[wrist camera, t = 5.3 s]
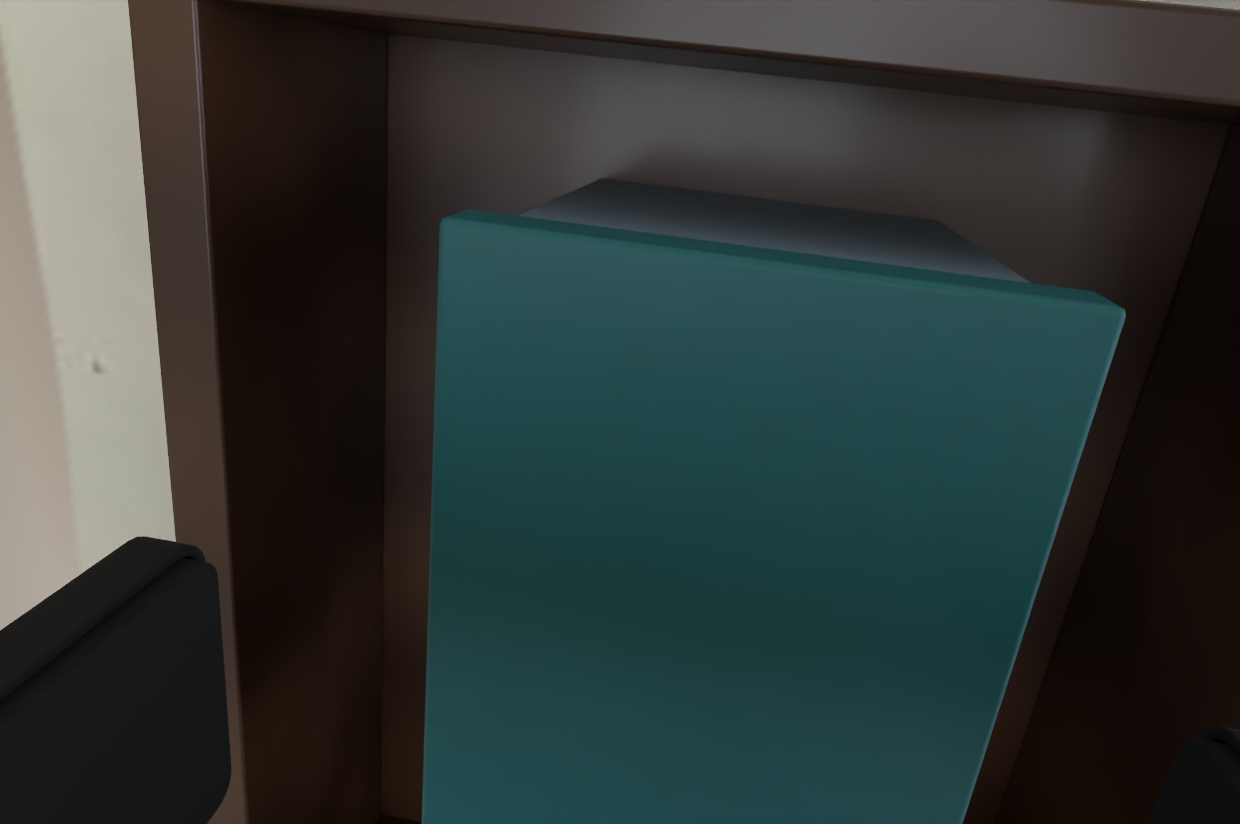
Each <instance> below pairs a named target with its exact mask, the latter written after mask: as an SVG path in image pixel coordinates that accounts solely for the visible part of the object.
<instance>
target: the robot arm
mask: <svg viewBox="0 0 1240 824" xmlns="http://www.w3.org/2000/svg"><path fill="white" fill-rule="evenodd" d="M231 768H232V767H231V753H230V739H229V725H228V711H227V697H226V682H225V668H224V654H223V640H222V626H221V612H220V598H219V584H218V575H217V570H216V569H215V567H214V565H212V564H210V563H208V562H205V557H204V555H203V553H202V551H201V550H200V548H198V547H196V546H194V545H190V544H184V543H178V542H173V541H167V540H161V539H156V538H150V537H136V538H134V539H132V540H130V541H128V542H126V543H125V544H123V545H122V546H121V547H119V548H118V549H116V550H115V551H113V552H112V553H111V554H109V555H108V556H106V557H105V558H103V559H102V560H101V561H99V562H98V563H96V564H95V565H93V566H92V567H91V568H89V569H88V570H86V571H85V572H83V573H82V574H81V575H79V576H78V577H76V578H75V579H73V580H72V581H71V582H69V583H68V584H66V585H65V586H63V587H62V588H61V589H59V590H58V591H56V592H55V593H53V594H52V595H51V596H49V597H48V598H46V599H45V600H43V601H42V602H41V603H39V604H38V605H36V606H35V607H33V608H32V609H31V610H29V611H28V612H26V613H25V614H23V615H22V616H21V617H19V618H18V619H17V620H15V621H14V622H12V623H11V624H9V625H8V626H6V627H5V628H3V629H2V630H1V631H0V824H207V823H208V822H209V820H210V819H211V818H212V816H213V815H214V814H215V812H216V811H217V810H218V808H219V806H220V805H221V803H222V801H223V799H224V797H225V795H226V793H227V790H228V787H229V784H230V779H231ZM1148 824H1240V730H1238V729H1232V728H1227V727H1221V726H1217V727H1210V728H1209V729H1208V730H1206V731H1205V732H1204V733H1202V735H1201V737H1200V738H1199V739H1188V740H1187V741H1186V742H1184V743H1183V744H1182V746H1181V747H1180V749H1179V751H1178V753H1177V755H1176V758H1175V760H1174V762H1173V765H1172V767H1171V770H1170V772H1169V774H1168V777H1167V779H1166V781H1165V784H1164V786H1163V788H1162V791H1161V793H1160V796H1159V798H1158V800H1157V803H1156V805H1155V807H1154V810H1153V812H1152V814H1151V817H1150V819H1149V822H1148Z"/></svg>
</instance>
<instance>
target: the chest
mask: <svg viewBox="0 0 1240 824" xmlns="http://www.w3.org/2000/svg"><path fill="white" fill-rule="evenodd" d="M128 4H129V16H130V27H131V38H132V50H133V61H134V72H135V83H136V95H137V106H138V117H139V129H140V140H141V151H142V162H143V174H144V185H145V196H146V208H147V219H148V230H149V242H150V253H151V264H152V275H153V287H154V298H155V309H156V321H157V332H158V343H159V354H160V366H161V377H162V388H163V400H164V411H165V422H166V434H167V445H168V456H169V467H170V479H171V490H172V501H173V513H174V524H175V535H176V542H178V543H184V544H190V545H194V546H196V547H198V548H200V550H201V551H202V553H203V555H204V557H205V562H208V563H210V564H212V565H214V567H215V569H216V570H217V575H218V584H219V598H220V612H221V626H222V640H223V654H224V668H225V682H226V697H227V711H228V725H229V739H230V753H231V767H232V768H231V779H230V784H229V787H228V790H227V793H226V795H225V797H224V799H223V801H222V803H221V805H220V806H219V808H218V810H217V811H216V812H215V814H214V815H213V816H212V818H211V819H210V820H209V822H208V823H207V824H422V794H423V761H424V728H425V695H426V662H427V629H428V596H429V564H430V531H431V498H432V465H433V432H434V399H435V366H436V333H437V301H438V268H439V235H440V223H441V221H442V219H443V218H445V217H448V216H451V215H454V214H457V213H460V212H462V211H465V210H469V209H471V210H479V211H486V212H494V213H501V214H509V215H520V214H522V213H524V212H526V211H529V210H531V209H533V208H535V207H538V206H540V205H542V204H544V203H547V202H549V201H551V200H553V199H556V198H558V197H560V196H563V195H565V194H567V193H569V192H572V191H574V190H576V189H578V188H581V187H583V186H585V185H587V184H590V183H592V182H594V181H596V180H599V179H610V180H618V181H626V182H634V183H642V184H650V185H658V186H666V187H673V188H681V189H689V190H697V191H705V192H713V193H721V194H729V195H737V196H745V197H753V198H761V199H769V200H777V201H785V202H793V203H801V204H809V205H817V206H825V207H833V208H841V209H849V210H857V211H865V212H873V213H881V214H889V215H897V216H905V217H913V218H921V219H929V220H937V221H940V222H942V223H943V224H944V225H946V226H947V227H949V228H950V229H952V230H953V231H955V232H956V233H958V234H959V235H961V236H962V237H964V238H965V239H967V240H968V241H970V242H971V243H973V244H974V245H976V246H977V247H978V248H980V249H981V250H983V251H984V252H986V253H987V254H989V255H990V256H992V257H993V258H995V259H996V260H998V261H999V262H1001V263H1002V264H1004V265H1005V266H1007V267H1008V268H1010V269H1011V270H1012V271H1014V272H1015V273H1017V274H1018V275H1020V276H1021V277H1023V278H1024V279H1026V280H1027V281H1029V282H1030V283H1033V284H1041V285H1049V286H1056V287H1064V288H1071V289H1079V290H1087V291H1094V292H1096V293H1097V294H1099V295H1101V296H1103V297H1104V298H1106V299H1108V300H1110V301H1111V302H1113V303H1115V304H1117V305H1118V306H1120V307H1122V308H1123V309H1125V314H1126V318H1125V321H1124V324H1123V327H1122V330H1121V333H1120V336H1119V339H1118V342H1117V346H1116V349H1115V352H1114V355H1113V358H1112V361H1111V364H1110V367H1109V370H1108V374H1107V377H1106V380H1105V383H1104V386H1103V389H1102V392H1101V395H1100V398H1099V401H1098V405H1097V408H1096V411H1095V414H1094V417H1093V420H1092V423H1091V426H1090V429H1089V432H1088V436H1087V439H1086V442H1085V445H1084V448H1083V451H1082V454H1081V457H1080V460H1079V464H1078V467H1077V470H1076V473H1075V476H1074V479H1073V482H1072V485H1071V488H1070V491H1069V495H1068V498H1067V501H1066V504H1065V507H1064V510H1063V513H1062V516H1061V519H1060V523H1059V526H1058V529H1057V532H1056V535H1055V538H1054V541H1053V544H1052V547H1051V550H1050V554H1049V557H1048V560H1047V563H1046V566H1045V569H1044V572H1043V575H1042V578H1041V581H1040V585H1039V588H1038V591H1037V594H1036V597H1035V600H1034V603H1033V606H1032V609H1031V613H1030V616H1029V619H1028V622H1027V625H1026V628H1025V631H1024V634H1023V637H1022V640H1021V644H1020V647H1019V650H1018V653H1017V656H1016V659H1015V662H1014V665H1013V668H1012V671H1011V675H1010V678H1009V681H1008V684H1007V687H1006V690H1005V693H1004V696H1003V699H1002V703H1001V706H1000V709H999V712H998V715H997V718H996V721H995V724H994V727H993V730H992V734H991V737H990V740H989V743H988V746H987V749H986V752H985V755H984V758H983V761H982V765H981V768H980V771H979V774H978V777H977V780H976V783H975V786H974V789H973V793H972V796H971V799H970V802H969V805H968V808H967V811H966V814H965V817H964V820H963V824H1148V822H1149V819H1150V817H1151V814H1152V812H1153V810H1154V807H1155V805H1156V803H1157V800H1158V798H1159V796H1160V793H1161V791H1162V788H1163V786H1164V784H1165V781H1166V779H1167V777H1168V774H1169V772H1170V770H1171V767H1172V765H1173V762H1174V760H1175V758H1176V755H1177V753H1178V751H1179V749H1180V747H1181V746H1182V744H1183V743H1184V742H1186V741H1187V740H1188V739H1199V738H1200V737H1201V735H1202V733H1204V732H1205V731H1206V730H1208V729H1209V728H1210V727H1217V726H1221V727H1227V728H1232V729H1238V730H1240V10H1234V9H1223V8H1212V7H1202V6H1191V5H1180V4H1170V3H1159V2H1148V1H1138V0H128Z"/></svg>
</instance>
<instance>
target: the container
mask: <svg viewBox="0 0 1240 824" xmlns="http://www.w3.org/2000/svg"><path fill="white" fill-rule="evenodd" d="M1125 318H1126V314H1125V309H1123V308H1122V307H1120V306H1118V305H1117V304H1115V303H1113V302H1111V301H1110V300H1108V299H1106V298H1104V297H1103V296H1101V295H1099V294H1097V293H1096V292H1094V291H1087V290H1079V289H1071V288H1064V287H1056V286H1049V285H1041V284H1033V283H1030V282H1029V281H1027V280H1026V279H1024V278H1023V277H1021V276H1020V275H1018V274H1017V273H1015V272H1014V271H1012V270H1011V269H1010V268H1008V267H1007V266H1005V265H1004V264H1002V263H1001V262H999V261H998V260H996V259H995V258H993V257H992V256H990V255H989V254H987V253H986V252H984V251H983V250H981V249H980V248H978V247H977V246H976V245H974V244H973V243H971V242H970V241H968V240H967V239H965V238H964V237H962V236H961V235H959V234H958V233H956V232H955V231H953V230H952V229H950V228H949V227H947V226H946V225H944V224H943V223H942V222H940V221H937V220H929V219H921V218H913V217H905V216H897V215H889V214H881V213H873V212H865V211H857V210H849V209H841V208H833V207H825V206H817V205H809V204H801V203H793V202H785V201H777V200H769V199H761V198H753V197H745V196H737V195H729V194H721V193H713V192H705V191H697V190H689V189H681V188H673V187H666V186H658V185H650V184H642V183H634V182H626V181H618V180H610V179H599V180H596V181H594V182H592V183H590V184H587V185H585V186H583V187H581V188H578V189H576V190H574V191H572V192H569V193H567V194H565V195H563V196H560V197H558V198H556V199H553V200H551V201H549V202H547V203H544V204H542V205H540V206H538V207H535V208H533V209H531V210H529V211H526V212H524V213H522V214H520V215H509V214H501V213H494V212H486V211H479V210H471V209H469V210H465V211H462V212H460V213H457V214H454V215H451V216H448V217H445V218H443V219H442V221H441V223H440V235H439V268H438V301H437V333H436V366H435V399H434V432H433V465H432V498H431V531H430V564H429V596H428V629H427V662H426V695H425V728H424V761H423V794H422V824H963V820H964V817H965V814H966V811H967V808H968V805H969V802H970V799H971V796H972V793H973V789H974V786H975V783H976V780H977V777H978V774H979V771H980V768H981V765H982V761H983V758H984V755H985V752H986V749H987V746H988V743H989V740H990V737H991V734H992V730H993V727H994V724H995V721H996V718H997V715H998V712H999V709H1000V706H1001V703H1002V699H1003V696H1004V693H1005V690H1006V687H1007V684H1008V681H1009V678H1010V675H1011V671H1012V668H1013V665H1014V662H1015V659H1016V656H1017V653H1018V650H1019V647H1020V644H1021V640H1022V637H1023V634H1024V631H1025V628H1026V625H1027V622H1028V619H1029V616H1030V613H1031V609H1032V606H1033V603H1034V600H1035V597H1036V594H1037V591H1038V588H1039V585H1040V581H1041V578H1042V575H1043V572H1044V569H1045V566H1046V563H1047V560H1048V557H1049V554H1050V550H1051V547H1052V544H1053V541H1054V538H1055V535H1056V532H1057V529H1058V526H1059V523H1060V519H1061V516H1062V513H1063V510H1064V507H1065V504H1066V501H1067V498H1068V495H1069V491H1070V488H1071V485H1072V482H1073V479H1074V476H1075V473H1076V470H1077V467H1078V464H1079V460H1080V457H1081V454H1082V451H1083V448H1084V445H1085V442H1086V439H1087V436H1088V432H1089V429H1090V426H1091V423H1092V420H1093V417H1094V414H1095V411H1096V408H1097V405H1098V401H1099V398H1100V395H1101V392H1102V389H1103V386H1104V383H1105V380H1106V377H1107V374H1108V370H1109V367H1110V364H1111V361H1112V358H1113V355H1114V352H1115V349H1116V346H1117V342H1118V339H1119V336H1120V333H1121V330H1122V327H1123V324H1124V321H1125Z"/></svg>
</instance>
